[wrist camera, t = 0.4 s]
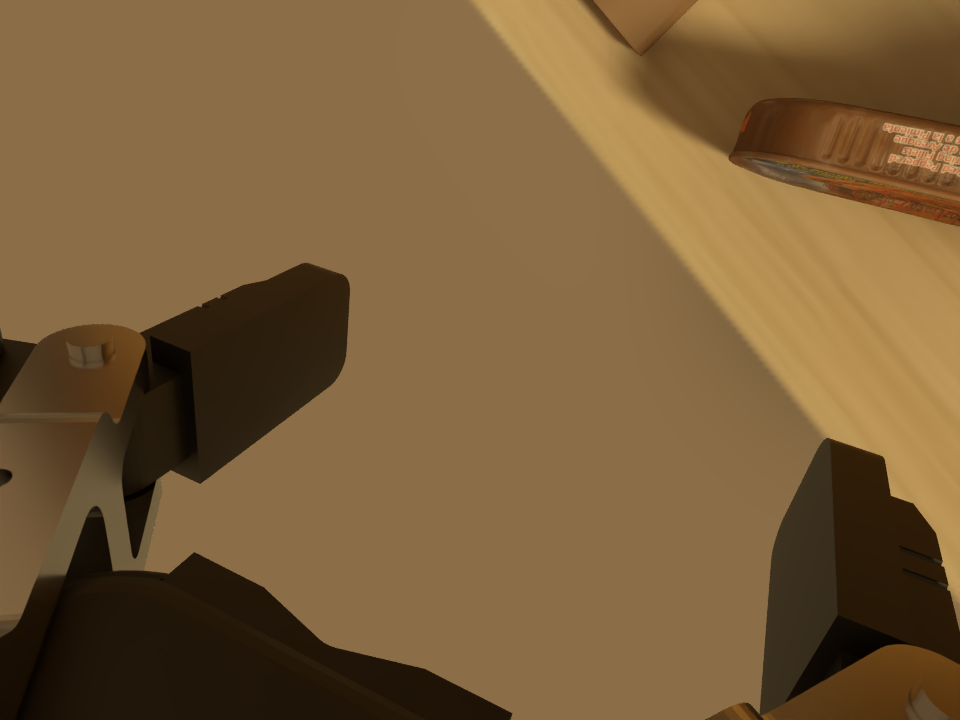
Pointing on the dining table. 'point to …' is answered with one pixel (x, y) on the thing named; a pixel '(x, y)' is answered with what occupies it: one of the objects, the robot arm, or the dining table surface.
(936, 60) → the dining table surface
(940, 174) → the tin
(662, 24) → the shelf board
